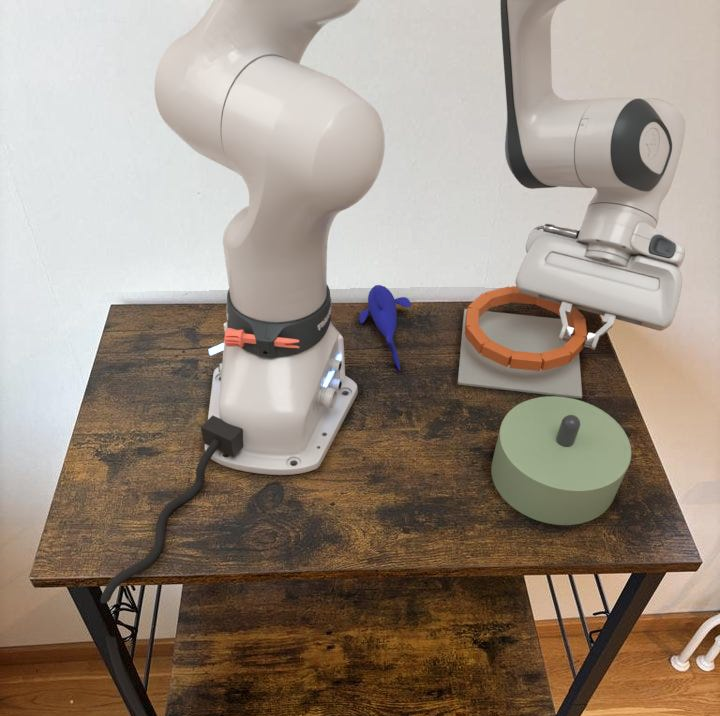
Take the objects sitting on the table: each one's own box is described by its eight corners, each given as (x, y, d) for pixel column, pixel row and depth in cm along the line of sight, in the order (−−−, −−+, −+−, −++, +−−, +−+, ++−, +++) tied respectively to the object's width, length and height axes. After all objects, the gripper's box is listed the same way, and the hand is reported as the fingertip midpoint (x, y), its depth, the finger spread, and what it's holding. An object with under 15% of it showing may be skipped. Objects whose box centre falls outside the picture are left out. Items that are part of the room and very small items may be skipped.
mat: (581, 398, 94) (582, 396, 94) (457, 384, 95) (457, 382, 95) (576, 322, 104) (576, 320, 104) (464, 310, 106) (464, 308, 105)
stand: (620, 533, 80) (649, 476, 73) (489, 516, 81) (504, 458, 74) (610, 439, 90) (634, 380, 82) (492, 425, 91) (506, 366, 83)
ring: (587, 376, 92) (590, 366, 90) (462, 363, 93) (464, 354, 92) (579, 301, 102) (582, 292, 101) (467, 291, 103) (468, 282, 102)
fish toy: (359, 314, 107) (344, 277, 102) (409, 297, 106) (396, 258, 101) (373, 382, 97) (357, 345, 92) (428, 364, 96) (414, 325, 91)
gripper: (533, 212, 93) (497, 318, 94) (699, 252, 87) (658, 363, 89) (535, 227, 99) (501, 326, 100) (690, 265, 94) (652, 369, 95)
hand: (576, 344), depth 95 cm, fingers closed on ring, 2 cm apart
